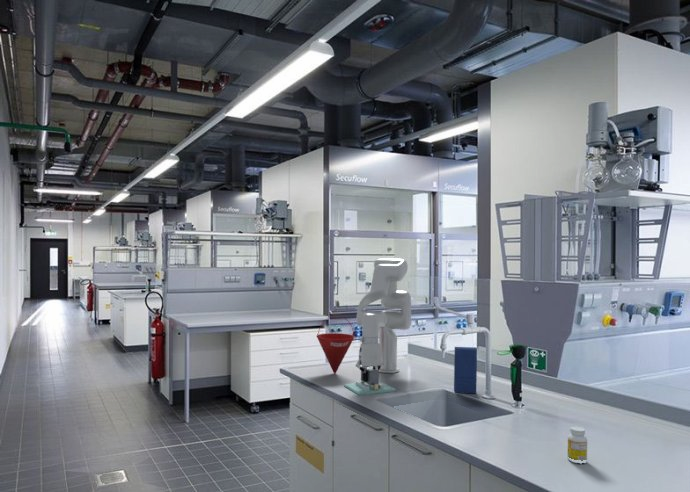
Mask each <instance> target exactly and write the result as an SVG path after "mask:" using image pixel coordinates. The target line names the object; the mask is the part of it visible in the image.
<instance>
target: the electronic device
mask: <svg viewBox="0 0 690 492" xmlns="http://www.w3.org/2000/svg"><path fill="white" fill-rule="evenodd" d="M453 360H454V361H453V362H454V364H453V365H454V366H453V369H454V370H453V392H454V393H455V394H471V395H472V394H473V395H474V394H475V395H476V394H477V378H478V377H477V375H478V374H477V373H478V372H477V371H478V369H477V367H478V348H476V347H474V346H473V347H470V346H468V347H467V346H454V359H453Z"/></svg>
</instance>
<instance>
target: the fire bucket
mask: <svg viewBox="0 0 690 492" xmlns="http://www.w3.org/2000/svg"><path fill="white" fill-rule="evenodd" d="M335 316H337V317H340V318H343V319H344V320H345V321H347V322H348V323H349V325H350V326H351V330H352V332H353V333H352V334H347V333H340V332H339V333H336V332H333V333H332V332H331V333H321V334H320V330H321V327H322V325H323V324H324V322H326V321H327V320H329V319H330V318H333V317H335ZM324 322H322V323H321V324H320V326H319V329H318V333H317V335H316V338H317V340H318V342H319V345H320V346H321V349H322V351H323V354H324V355H325V357H326V360H327V361H328V364H329V366H330V368H331V370H332V372H333V374H336V373H337V372H338V370H339V368H340V366H341V364H342V362H343V360H344V358H345V356H346V354H347V352H348V351H349V349H350V347H351V345H352V343H353V341H354V339H355V337H356V336H355V331H354V328H353V326H352V324H351V322H350V321H349V320H348V319H346V318H345V317H343V316H341V315H337V314H335V315H332V316H331V315H330V316H329V317H327V318H326V319H324Z"/></svg>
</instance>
